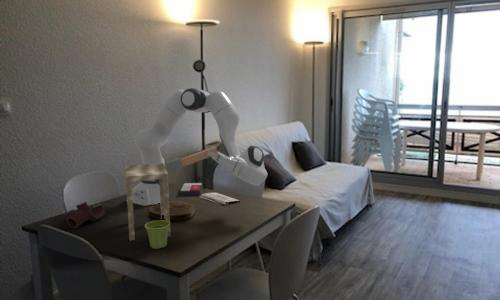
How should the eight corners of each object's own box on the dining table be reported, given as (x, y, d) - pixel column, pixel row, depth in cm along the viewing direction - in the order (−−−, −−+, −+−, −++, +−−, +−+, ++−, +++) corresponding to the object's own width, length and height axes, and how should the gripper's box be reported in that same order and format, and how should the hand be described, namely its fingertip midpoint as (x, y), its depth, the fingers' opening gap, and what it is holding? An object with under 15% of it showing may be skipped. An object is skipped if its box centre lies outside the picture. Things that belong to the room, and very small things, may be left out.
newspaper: (198, 198, 223) (198, 193, 222) (216, 196, 230) (217, 192, 230) (222, 207, 205) (222, 202, 205) (241, 205, 213) (242, 200, 213)
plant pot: (141, 250, 153) (140, 227, 152) (152, 240, 162) (151, 219, 161) (165, 251, 151) (164, 229, 150) (174, 241, 160) (173, 220, 159)
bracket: (109, 211, 190) (98, 193, 188) (82, 231, 175) (70, 211, 173) (100, 214, 193) (90, 196, 191) (73, 234, 178) (61, 214, 176)
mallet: (215, 152, 181) (213, 143, 180) (218, 154, 175) (215, 145, 174) (168, 169, 176) (164, 161, 175) (169, 172, 170) (166, 163, 169)
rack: (165, 219, 187) (163, 163, 183) (170, 236, 166) (167, 173, 162) (129, 222, 183) (125, 165, 178) (129, 240, 162) (125, 176, 158)
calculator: (179, 190, 224) (183, 182, 239) (180, 197, 225) (184, 189, 240) (199, 190, 225) (202, 182, 239) (200, 197, 225) (202, 189, 240)
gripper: (231, 154, 191) (205, 141, 186) (243, 162, 171) (214, 148, 167) (225, 166, 191) (199, 153, 186) (236, 176, 171) (207, 162, 167)
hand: (206, 151), depth 176 cm, fingers open, 3 cm apart
